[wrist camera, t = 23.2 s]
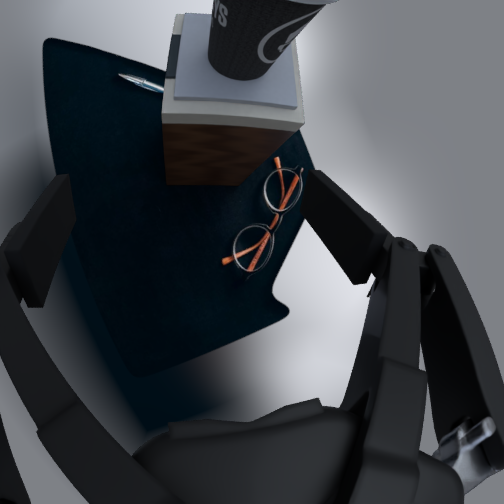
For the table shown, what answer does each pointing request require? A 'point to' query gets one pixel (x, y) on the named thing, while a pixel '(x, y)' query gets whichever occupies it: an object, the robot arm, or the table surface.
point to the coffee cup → (255, 33)
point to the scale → (227, 85)
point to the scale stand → (216, 152)
